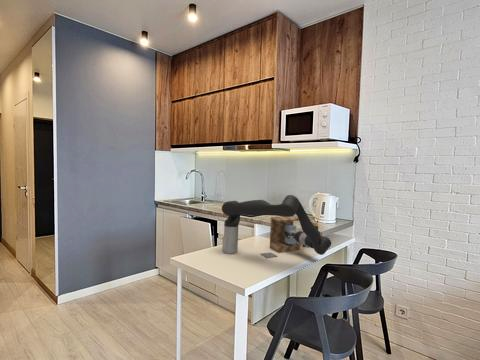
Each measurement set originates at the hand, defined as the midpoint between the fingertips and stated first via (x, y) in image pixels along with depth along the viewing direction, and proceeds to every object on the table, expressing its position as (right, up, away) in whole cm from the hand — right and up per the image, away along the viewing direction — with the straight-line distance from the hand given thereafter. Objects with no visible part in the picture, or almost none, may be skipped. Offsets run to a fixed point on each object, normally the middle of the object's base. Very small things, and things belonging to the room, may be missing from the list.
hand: (288, 232), depth 190 cm
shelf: (-2, -12, +1) cm, 12 cm away
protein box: (+18, -12, +15) cm, 26 cm away
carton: (+1, -7, -2) cm, 7 cm away
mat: (-15, -12, -14) cm, 23 cm away
